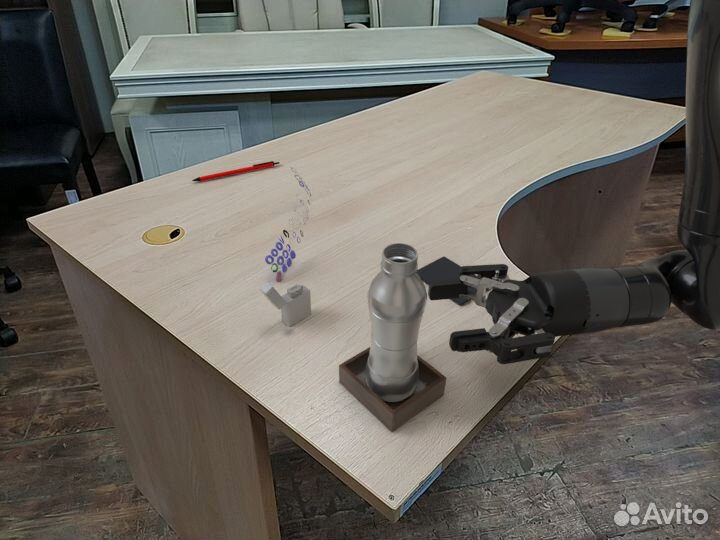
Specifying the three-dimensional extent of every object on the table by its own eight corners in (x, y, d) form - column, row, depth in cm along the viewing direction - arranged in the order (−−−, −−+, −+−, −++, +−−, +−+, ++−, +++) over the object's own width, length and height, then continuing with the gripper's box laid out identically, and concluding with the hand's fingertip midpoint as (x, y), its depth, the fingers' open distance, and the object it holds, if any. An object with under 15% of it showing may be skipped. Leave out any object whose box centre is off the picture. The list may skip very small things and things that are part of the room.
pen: (280, 165, 115) (279, 160, 114) (192, 183, 108) (191, 178, 107) (278, 163, 116) (278, 159, 115) (191, 181, 108) (190, 176, 108)
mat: (491, 287, 81) (492, 284, 80) (461, 306, 77) (461, 303, 77) (443, 258, 87) (443, 255, 87) (413, 274, 83) (413, 271, 83)
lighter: (304, 308, 76) (301, 263, 72) (312, 314, 75) (309, 268, 71) (263, 330, 73) (257, 284, 68) (271, 337, 71) (265, 290, 67)
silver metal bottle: (417, 369, 67) (432, 236, 55) (417, 412, 61) (432, 275, 50) (367, 365, 67) (370, 232, 56) (362, 408, 62) (364, 270, 50)
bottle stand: (444, 394, 64) (446, 377, 62) (391, 432, 59) (392, 415, 57) (390, 350, 70) (391, 334, 68) (339, 382, 65) (338, 365, 63)
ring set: (319, 296, 82) (289, 243, 74) (254, 300, 86) (220, 250, 78) (352, 194, 98) (331, 142, 91) (297, 202, 103) (272, 152, 95)
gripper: (553, 241, 64) (425, 252, 62) (618, 317, 53) (464, 334, 51) (540, 289, 69) (420, 301, 67) (597, 369, 57) (455, 386, 55)
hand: (439, 315), depth 59 cm, fingers open, 8 cm apart
